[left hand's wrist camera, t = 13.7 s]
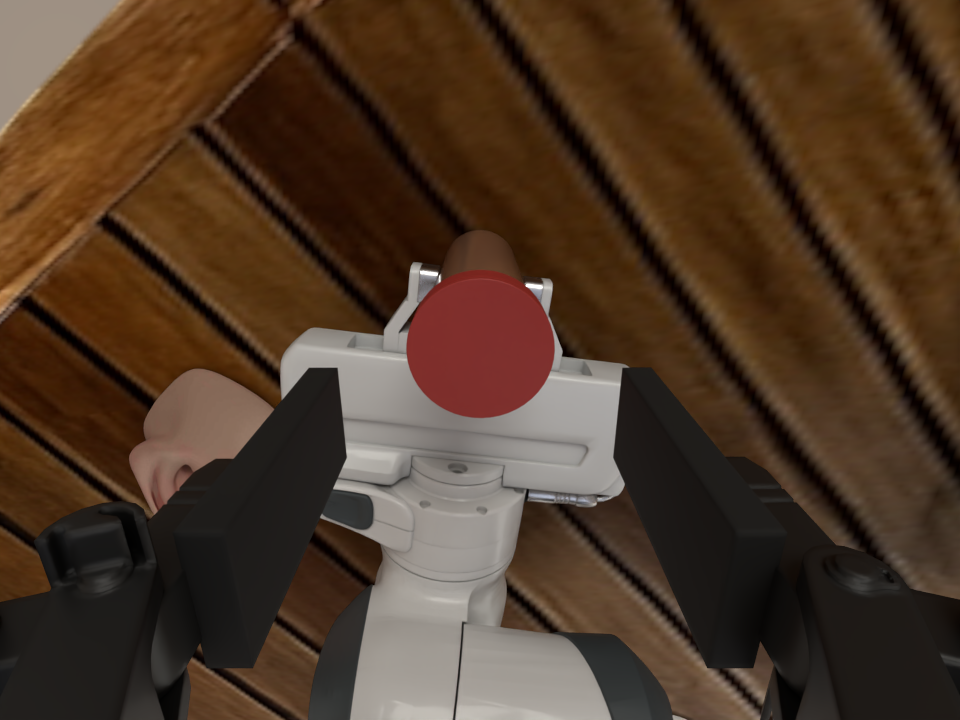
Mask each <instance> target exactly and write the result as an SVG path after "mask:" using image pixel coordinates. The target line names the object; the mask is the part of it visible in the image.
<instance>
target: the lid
mask: <svg viewBox="0 0 960 720" xmlns="http://www.w3.org/2000/svg"><path fill="white" fill-rule="evenodd" d="M406 354H407V361H408V365H409V368H410V371H411V374H412V376H413V378H414V380H415V382H416V383H417V385H418V387H419V388H420V389H421V390H422V392H423V393H424V394H425V395H426V396H427V397H428V398H429V399H430V400H431V401H433V402H434V403H435V404H437V405H438V406H440V407H441V408H443V409H445V410H447V411H449V412H452V413H454V414H457V415H461V416H465V417H471V418H491V417H496V416H501V415H504V414H507V413H510V412H512V411H514V410H516V409H518V408H520V407H521V406H523V405H525V404H526V403H527V402H528V401H530V400H531V399H532V398H533V397H534V396H535V395H536V394H537V393H538V392H539V391H540V389H541V388H542V387H543V385H544V384H545V382H546V380H547V378H548V376H549V374H550V371H551V369H552V365H553V361H554V354H555V341H554V335H553V331H552V328H551V324H550V322H549V320H548V317H547V315H546V313H545V311H544V308H543V306H542V304H541V303H540V301H539V300H538V298H537V297H536V296H535V294H534V293H533V292H532V291H531V290H530V289H529V288H528V287H526V286H525V285H524V284H523V283H521V282H520V281H518V280H517V279H515V278H513V277H511V276H509V275H506V274H503V273H500V272H496V271H490V270H470V271H465V272H461V273H458V274H455V275H452V276H450V277H448V278H446V279H444V280H443V281H441V282H440V283H438V284H437V285H436V286H435V287H433V288H432V289H431V290H430V291H429V292H428V293H427V295H426V296H425V297H424V298H423V300H422V301H421V303H420V305H419V306H418V309H417V311H416V313H415V315H414V318H413V320H412V323H411V325H410V328H409V332H408V336H407V343H406Z"/></svg>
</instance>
